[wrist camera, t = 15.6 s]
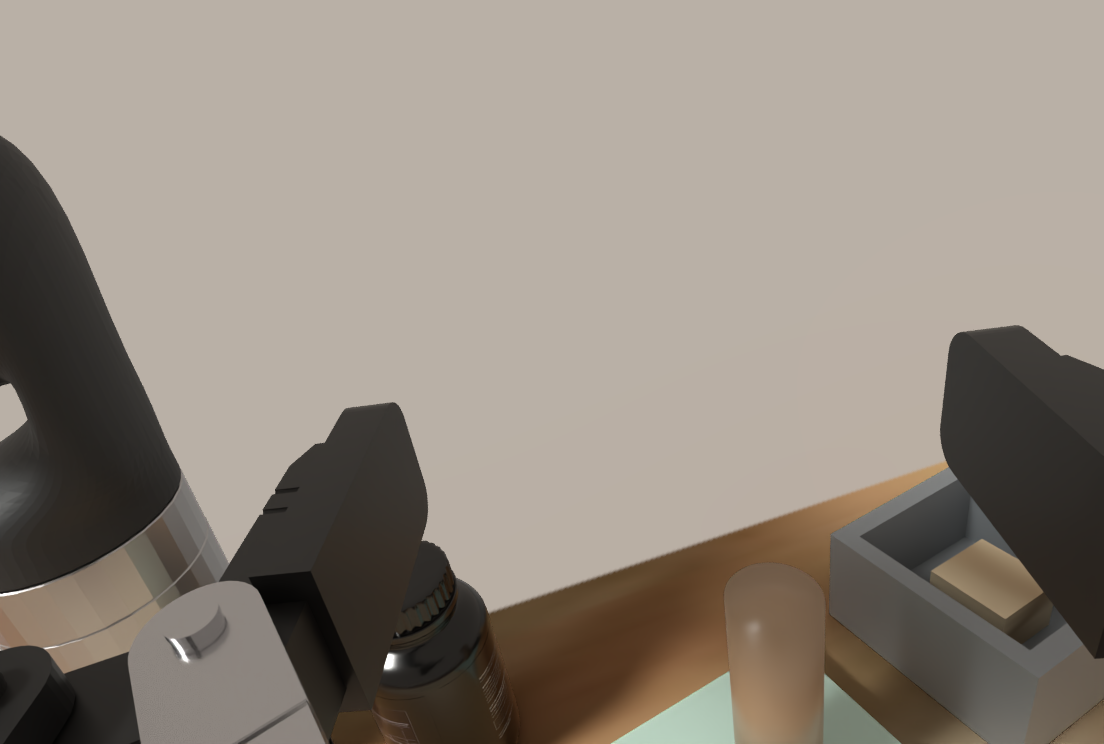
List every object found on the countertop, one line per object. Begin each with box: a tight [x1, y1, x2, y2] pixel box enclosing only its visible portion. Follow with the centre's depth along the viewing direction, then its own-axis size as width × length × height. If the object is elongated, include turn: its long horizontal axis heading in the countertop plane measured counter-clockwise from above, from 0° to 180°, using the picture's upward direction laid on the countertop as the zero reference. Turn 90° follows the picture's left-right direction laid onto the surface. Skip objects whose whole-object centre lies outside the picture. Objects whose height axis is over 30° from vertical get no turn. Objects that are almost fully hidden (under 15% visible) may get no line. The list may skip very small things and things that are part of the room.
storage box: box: [829, 467, 1104, 744], centre depth 37 cm, size 11×11×6 cm
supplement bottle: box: [371, 541, 520, 744], centre depth 35 cm, size 7×7×12 cm
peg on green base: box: [611, 562, 901, 744], centre depth 29 cm, size 11×11×13 cm
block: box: [930, 539, 1053, 644], centre depth 37 cm, size 4×4×3 cm
